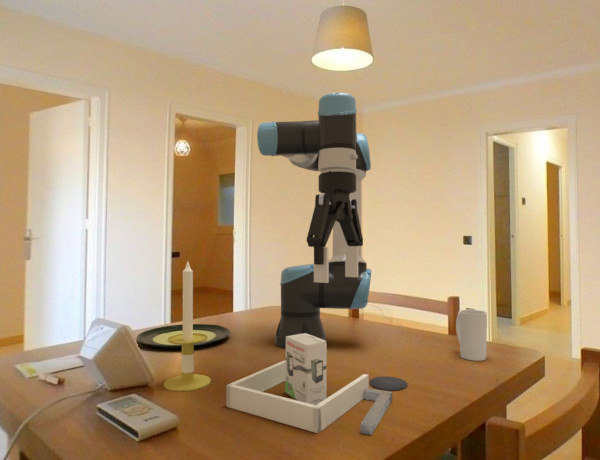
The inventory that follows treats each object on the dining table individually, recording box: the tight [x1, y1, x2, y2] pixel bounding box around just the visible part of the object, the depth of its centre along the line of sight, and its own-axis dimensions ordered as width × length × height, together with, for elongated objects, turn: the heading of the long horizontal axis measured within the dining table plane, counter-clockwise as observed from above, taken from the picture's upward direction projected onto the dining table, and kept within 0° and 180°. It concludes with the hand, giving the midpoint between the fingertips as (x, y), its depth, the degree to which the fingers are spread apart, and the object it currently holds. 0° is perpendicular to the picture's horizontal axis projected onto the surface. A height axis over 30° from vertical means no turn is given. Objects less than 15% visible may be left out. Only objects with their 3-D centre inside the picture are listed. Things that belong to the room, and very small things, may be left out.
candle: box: [163, 261, 212, 392], centre depth 93 cm, size 10×10×27 cm
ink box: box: [284, 333, 328, 405], centre depth 85 cm, size 9×5×12 cm, turn 31°
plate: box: [136, 323, 232, 349], centre depth 131 cm, size 28×28×2 cm
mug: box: [455, 309, 488, 362], centre depth 114 cm, size 10×7×12 cm, turn 17°
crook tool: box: [360, 387, 393, 436], centre depth 77 cm, size 5×16×2 cm, turn 156°
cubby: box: [225, 359, 370, 434], centre depth 83 cm, size 20×20×4 cm
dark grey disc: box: [369, 376, 408, 392], centre depth 92 cm, size 8×8×1 cm
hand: (337, 279), depth 85 cm, fingers open, 13 cm apart
